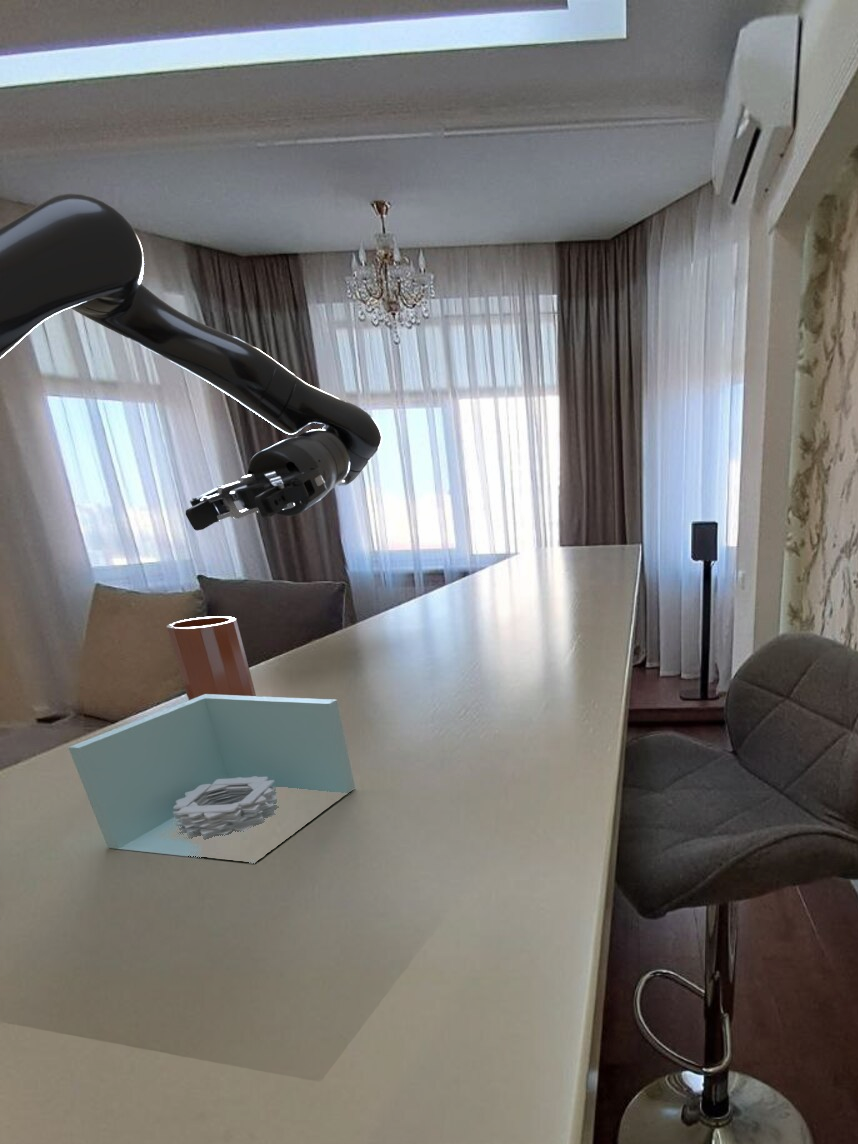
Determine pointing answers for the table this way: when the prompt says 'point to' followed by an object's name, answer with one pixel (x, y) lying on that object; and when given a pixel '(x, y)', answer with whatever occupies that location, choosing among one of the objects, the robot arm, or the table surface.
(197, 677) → the cup
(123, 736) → the right angle wall
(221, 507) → the robot arm
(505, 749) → the table surface
